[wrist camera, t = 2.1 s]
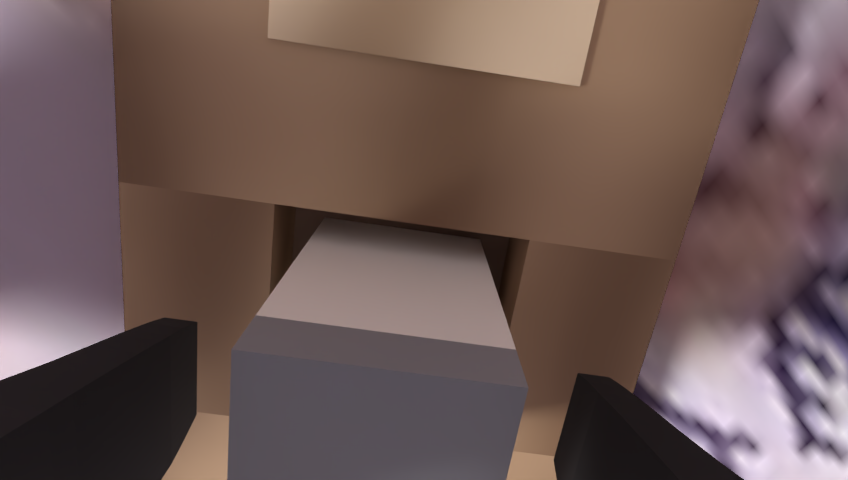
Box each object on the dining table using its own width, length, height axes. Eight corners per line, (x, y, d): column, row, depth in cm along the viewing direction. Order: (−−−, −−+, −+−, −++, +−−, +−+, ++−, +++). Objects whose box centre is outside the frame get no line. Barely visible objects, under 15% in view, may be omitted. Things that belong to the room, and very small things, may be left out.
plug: (312, 354, 14) (223, 573, 8) (324, 217, 13) (230, 349, 7) (454, 373, 14) (476, 601, 8) (479, 239, 13) (528, 387, 7)
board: (176, 415, 15) (126, 483, 13) (171, -361, 10) (81, -517, 7) (564, 462, 16) (591, 537, 13) (767, -251, 10) (882, -359, 8)
